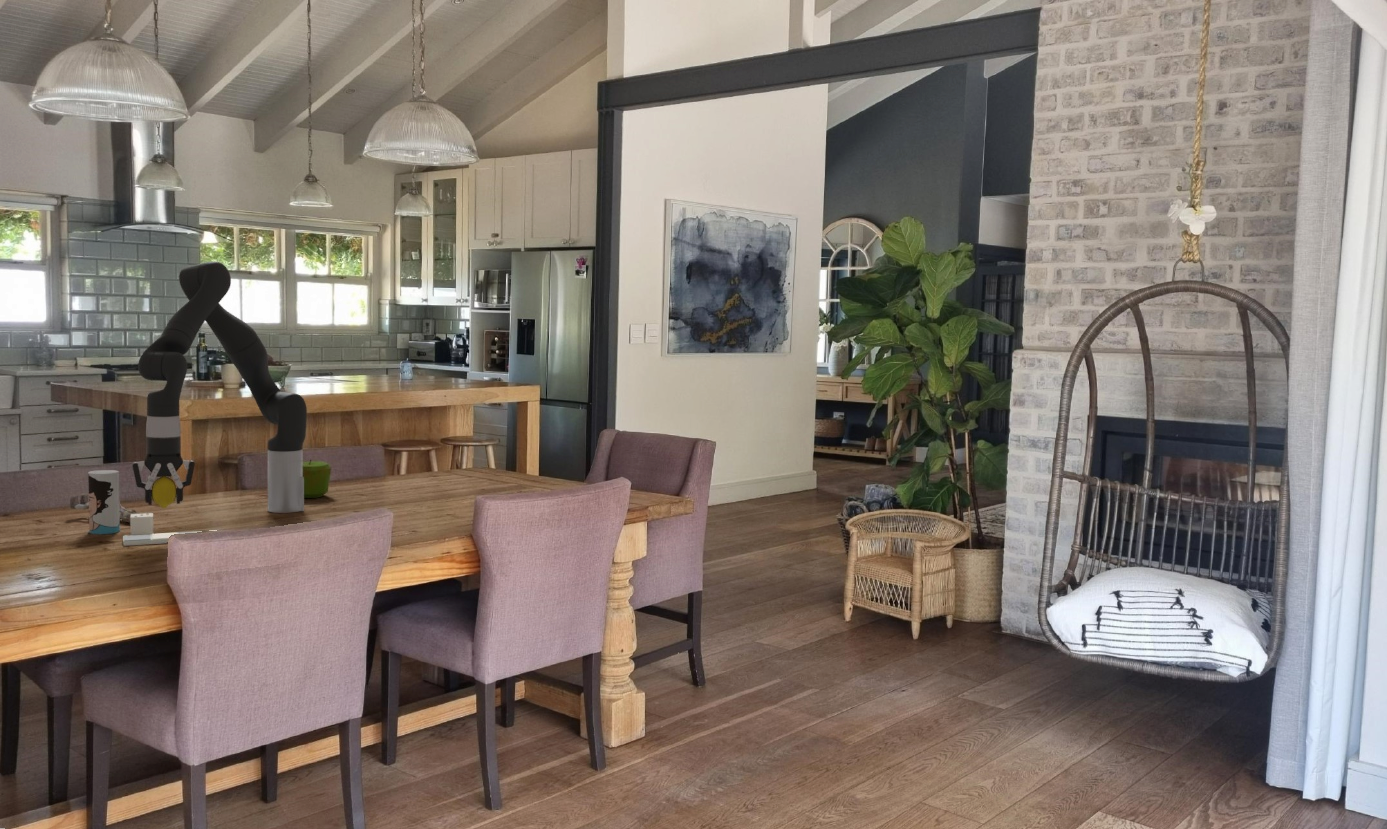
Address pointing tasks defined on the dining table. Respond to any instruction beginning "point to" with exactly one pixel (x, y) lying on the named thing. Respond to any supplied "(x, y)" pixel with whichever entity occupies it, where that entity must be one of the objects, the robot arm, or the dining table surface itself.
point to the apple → (316, 478)
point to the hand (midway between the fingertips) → (164, 503)
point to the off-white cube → (141, 523)
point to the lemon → (164, 491)
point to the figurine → (84, 504)
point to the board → (150, 538)
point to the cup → (104, 502)
